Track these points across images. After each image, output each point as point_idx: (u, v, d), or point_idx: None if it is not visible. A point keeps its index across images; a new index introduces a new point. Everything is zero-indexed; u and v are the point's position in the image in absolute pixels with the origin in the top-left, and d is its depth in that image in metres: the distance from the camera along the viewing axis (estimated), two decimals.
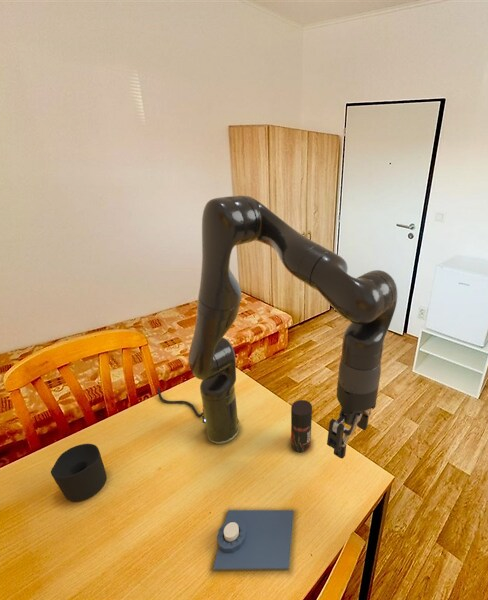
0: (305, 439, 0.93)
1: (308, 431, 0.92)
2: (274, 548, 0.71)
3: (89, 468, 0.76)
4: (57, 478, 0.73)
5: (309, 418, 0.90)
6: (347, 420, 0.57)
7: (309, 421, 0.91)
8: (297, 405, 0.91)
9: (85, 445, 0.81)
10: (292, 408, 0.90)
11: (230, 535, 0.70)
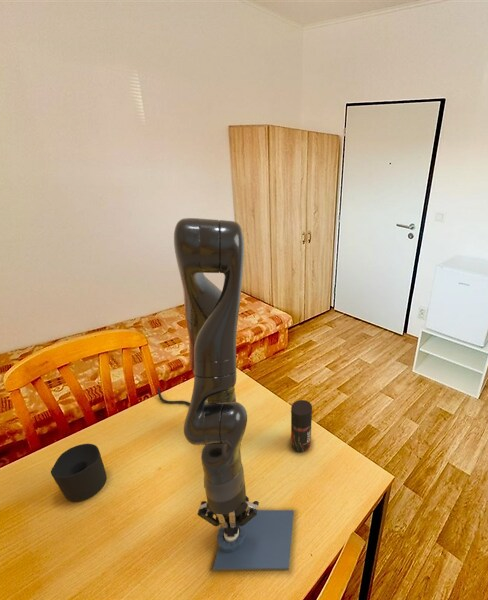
0: (305, 439, 0.93)
1: (308, 431, 0.92)
2: (274, 548, 0.71)
3: (89, 468, 0.76)
4: (57, 478, 0.73)
5: (309, 418, 0.90)
6: (206, 506, 0.66)
7: (309, 421, 0.91)
8: (297, 405, 0.91)
9: (85, 445, 0.81)
10: (292, 408, 0.90)
11: (231, 537, 0.70)
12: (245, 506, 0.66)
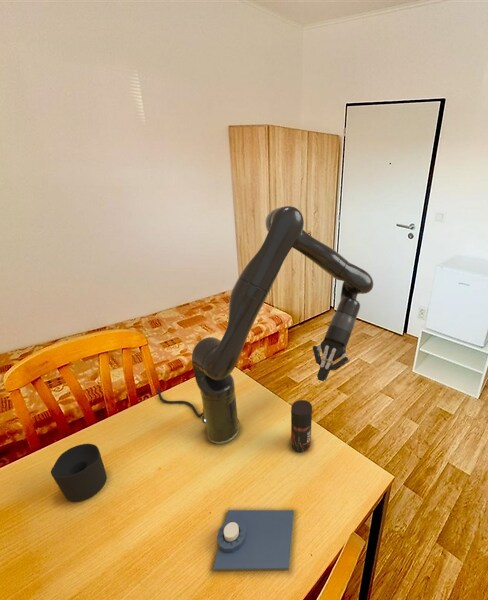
0: (305, 439, 0.93)
1: (308, 431, 0.92)
2: (274, 548, 0.71)
3: (89, 468, 0.76)
4: (57, 478, 0.73)
5: (309, 418, 0.90)
6: (321, 343, 1.01)
7: (309, 421, 0.91)
8: (297, 405, 0.91)
9: (85, 445, 0.81)
10: (292, 408, 0.90)
11: (230, 535, 0.70)
12: (343, 350, 0.98)
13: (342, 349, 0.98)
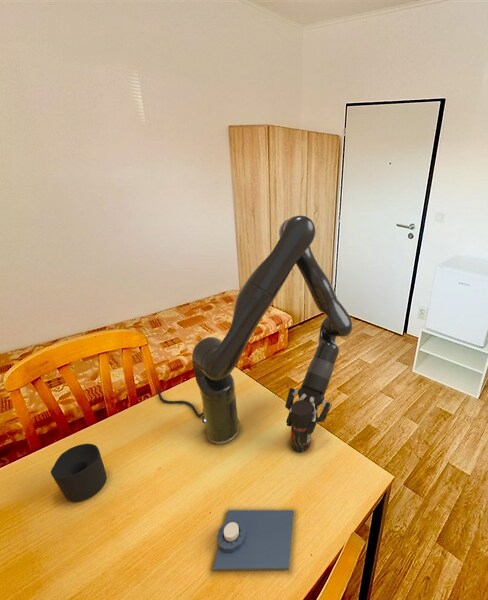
0: (305, 439, 0.93)
1: None
2: (274, 548, 0.71)
3: (89, 468, 0.76)
4: (57, 478, 0.73)
5: (309, 418, 0.90)
6: (298, 390, 0.96)
7: (309, 421, 0.91)
8: (297, 405, 0.91)
9: (85, 445, 0.81)
10: (292, 408, 0.90)
11: (230, 535, 0.70)
12: (321, 399, 0.93)
13: (319, 397, 0.93)
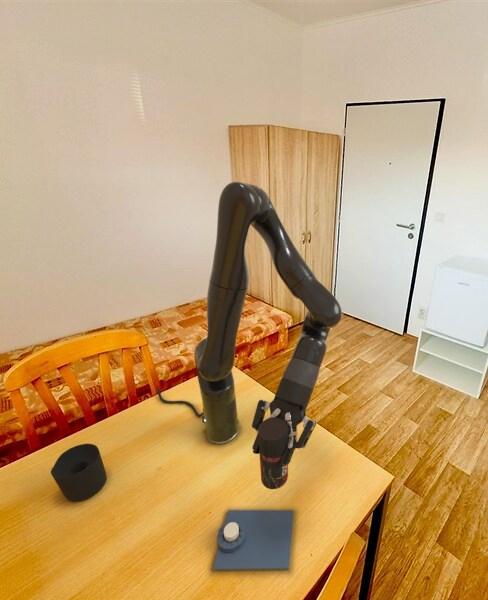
0: (280, 472, 0.67)
1: None
2: (274, 548, 0.71)
3: (89, 468, 0.76)
4: (57, 478, 0.73)
5: (283, 444, 0.64)
6: (270, 403, 0.69)
7: (284, 448, 0.64)
8: (267, 425, 0.65)
9: (85, 445, 0.81)
10: (259, 430, 0.64)
11: (230, 535, 0.70)
12: (301, 415, 0.67)
13: (299, 413, 0.67)
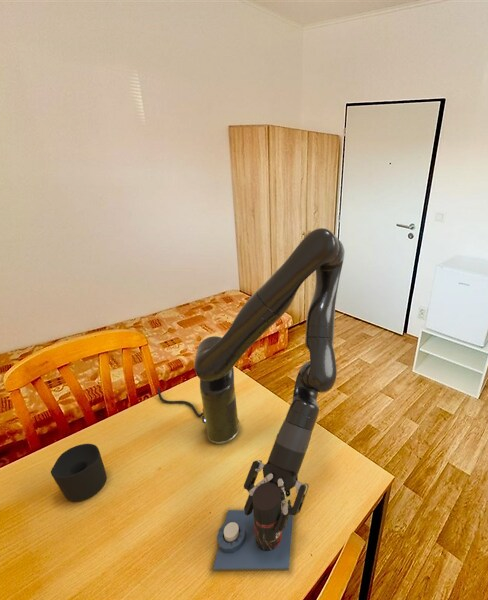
0: (273, 536, 0.69)
1: None
2: None
3: (89, 468, 0.76)
4: (57, 478, 0.73)
5: (276, 511, 0.66)
6: (263, 467, 0.71)
7: (277, 514, 0.67)
8: (261, 492, 0.67)
9: (85, 445, 0.81)
10: (253, 497, 0.66)
11: (230, 535, 0.70)
12: (293, 481, 0.69)
13: (291, 478, 0.69)
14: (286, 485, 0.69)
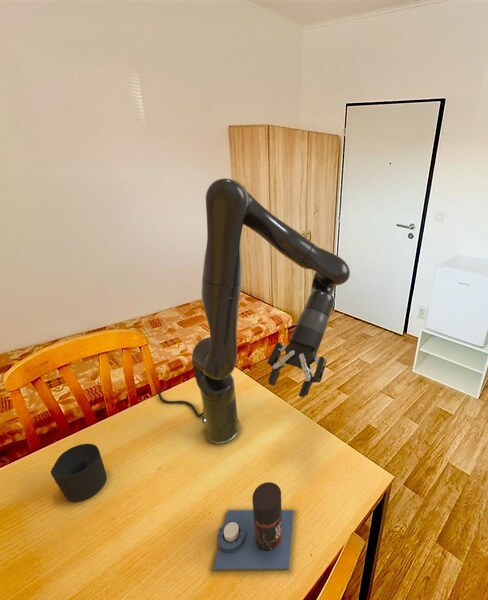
0: (273, 536, 0.69)
1: (276, 526, 0.68)
2: None
3: (89, 468, 0.76)
4: (57, 478, 0.73)
5: (277, 511, 0.66)
6: (285, 347, 0.80)
7: (277, 514, 0.67)
8: (261, 492, 0.67)
9: (85, 445, 0.81)
10: (254, 497, 0.66)
11: (230, 535, 0.70)
12: (313, 356, 0.77)
13: (310, 354, 0.78)
14: (306, 359, 0.77)
